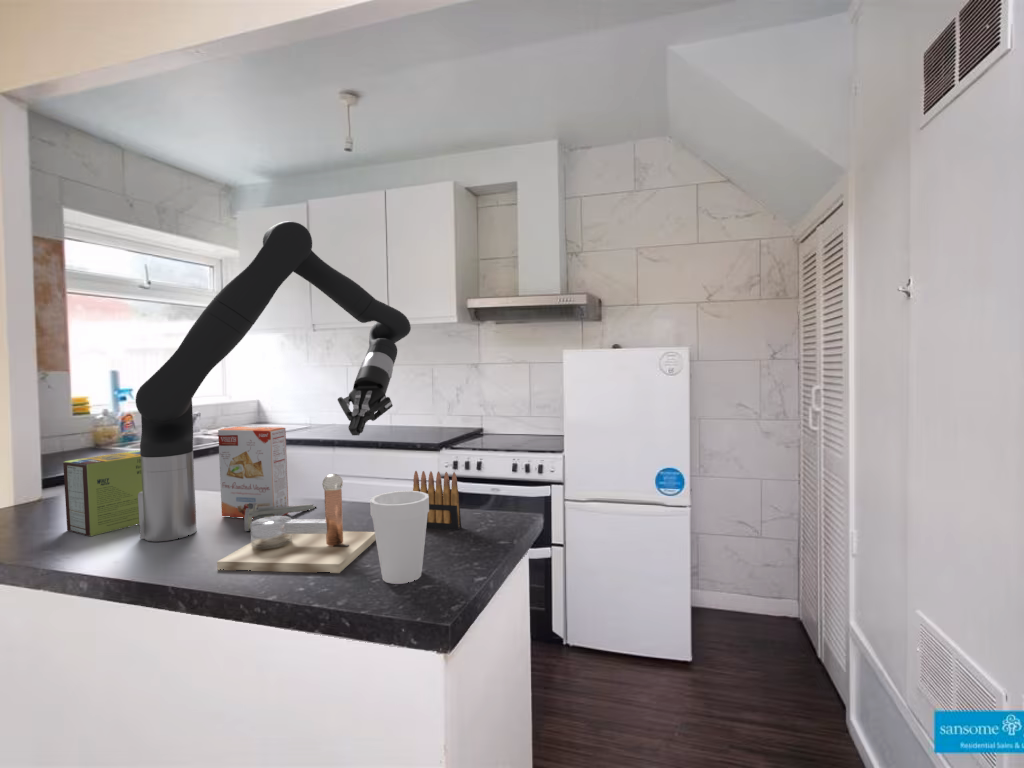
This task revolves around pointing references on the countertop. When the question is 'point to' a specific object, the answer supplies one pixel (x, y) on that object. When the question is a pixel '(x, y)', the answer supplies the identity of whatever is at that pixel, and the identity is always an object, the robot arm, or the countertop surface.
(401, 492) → the foam cup
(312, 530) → the lever
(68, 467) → the protein box
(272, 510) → the caliper
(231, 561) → the stand plate
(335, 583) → the countertop surface
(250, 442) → the cracker box
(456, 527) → the ammunition clip
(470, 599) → the countertop surface
